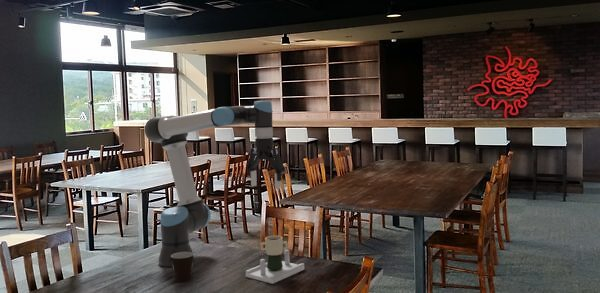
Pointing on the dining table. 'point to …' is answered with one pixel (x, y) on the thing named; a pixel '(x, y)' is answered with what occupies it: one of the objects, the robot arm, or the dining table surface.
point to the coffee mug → (182, 266)
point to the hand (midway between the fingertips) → (265, 187)
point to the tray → (274, 275)
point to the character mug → (274, 251)
